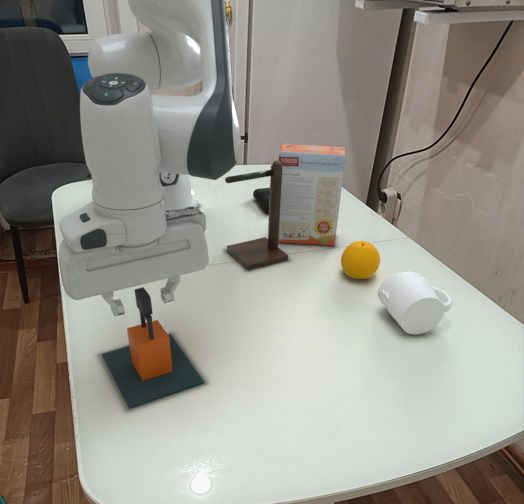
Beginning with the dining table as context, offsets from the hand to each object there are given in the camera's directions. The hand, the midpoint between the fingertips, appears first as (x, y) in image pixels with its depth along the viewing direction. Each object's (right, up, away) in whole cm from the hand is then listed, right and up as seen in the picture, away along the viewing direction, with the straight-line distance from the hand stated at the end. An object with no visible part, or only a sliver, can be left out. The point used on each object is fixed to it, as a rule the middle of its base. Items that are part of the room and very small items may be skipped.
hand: (143, 306), depth 75 cm
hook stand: (+15, +14, +38) cm, 44 cm away
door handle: (+26, +32, +62) cm, 74 cm away
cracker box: (+27, +20, +46) cm, 57 cm away
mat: (0, -9, +7) cm, 12 cm away
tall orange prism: (0, -9, +7) cm, 12 cm away
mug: (+46, -1, +21) cm, 50 cm away
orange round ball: (+38, +10, +33) cm, 51 cm away
